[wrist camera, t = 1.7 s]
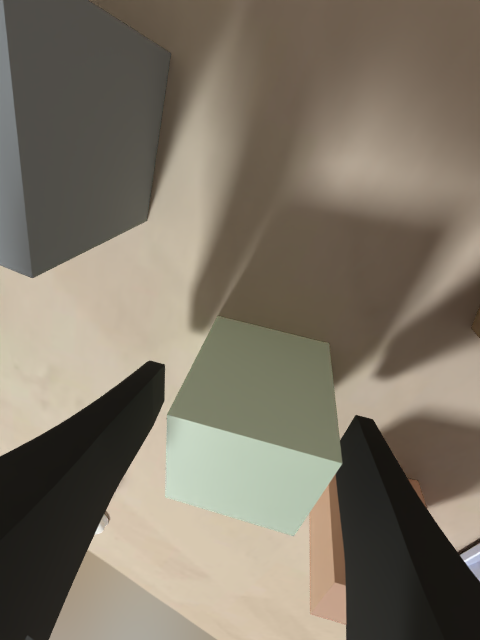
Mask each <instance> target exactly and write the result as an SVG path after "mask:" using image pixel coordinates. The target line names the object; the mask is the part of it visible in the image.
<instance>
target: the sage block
mask: <svg viewBox="0 0 480 640" xmlns="http://www.w3.org/2000/svg"><path fill="white" fill-rule="evenodd" d="M341 465H342V455H341V446H340V437H339V428H338V419H337V410H336V401H335V392H334V383H333V374H332V365H331V356H330V347H329V343H326V342H322V341H318V340H314V339H310V338H306V337H302V336H298V335H294V334H289V333H285V332H281V331H277V330H273V329H269V328H265V327H261V326H257V325H253V324H249V323H245V322H241V321H237V320H233V319H229V318H225V317H221V316H217V318H216V320H215V322H214V324H213V326H212V328H211V330H210V332H209V334H208V336H207V338H206V339H205V341H204V343H203V345H202V347H201V349H200V351H199V353H198V355H197V357H196V359H195V361H194V363H193V365H192V367H191V369H190V371H189V373H188V375H187V377H186V379H185V381H184V383H183V385H182V387H181V388H180V390H179V392H178V394H177V396H176V398H175V400H174V402H173V404H172V406H171V408H170V410H169V412H168V414H167V443H166V488H165V497H166V498H169V499H173V500H176V501H179V502H183V503H186V504H189V505H192V506H196V507H199V508H202V509H206V510H209V511H212V512H216V513H219V514H222V515H225V516H229V517H232V518H235V519H239V520H242V521H245V522H249V523H252V524H255V525H258V526H262V527H265V528H268V529H272V530H275V531H278V532H281V533H285V534H288V535H291V536H294V535H295V534H296V532H297V531H298V529H299V528H300V526H301V525H302V523H303V522H304V520H305V519H306V517H307V516H308V514H309V513H310V511H311V510H312V508H313V507H314V505H315V504H316V502H317V501H318V499H319V498H320V496H321V495H322V493H323V492H324V490H325V489H326V487H327V486H328V484H329V483H330V481H331V480H332V478H333V477H334V475H335V474H336V472H337V471H338V469H339V468H340V466H341Z"/></svg>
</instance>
